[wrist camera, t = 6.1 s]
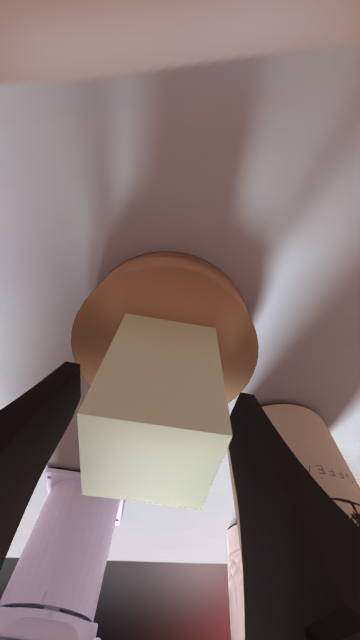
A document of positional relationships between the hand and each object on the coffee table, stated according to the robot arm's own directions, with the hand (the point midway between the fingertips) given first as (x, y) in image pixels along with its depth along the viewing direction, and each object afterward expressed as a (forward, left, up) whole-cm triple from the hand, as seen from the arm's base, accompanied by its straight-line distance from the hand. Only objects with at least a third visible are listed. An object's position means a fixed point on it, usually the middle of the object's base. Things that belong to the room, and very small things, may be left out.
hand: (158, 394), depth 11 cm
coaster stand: (0, 0, -6) cm, 6 cm away
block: (0, 0, -3) cm, 3 cm away
